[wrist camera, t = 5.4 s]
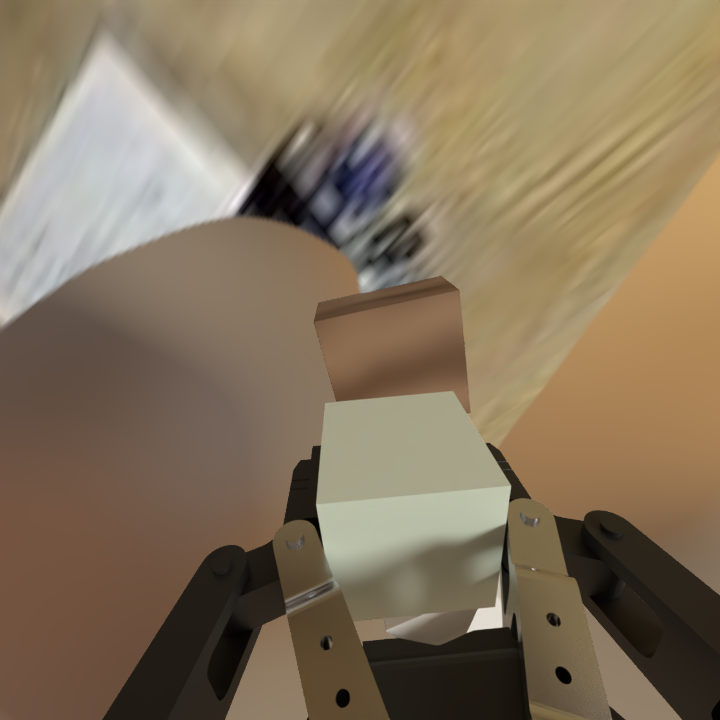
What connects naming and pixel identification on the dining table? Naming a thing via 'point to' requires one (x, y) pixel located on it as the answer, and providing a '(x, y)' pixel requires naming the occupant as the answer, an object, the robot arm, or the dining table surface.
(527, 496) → the robot arm
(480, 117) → the dining table surface
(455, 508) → the sage cube
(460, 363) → the walnut block
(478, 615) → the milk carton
